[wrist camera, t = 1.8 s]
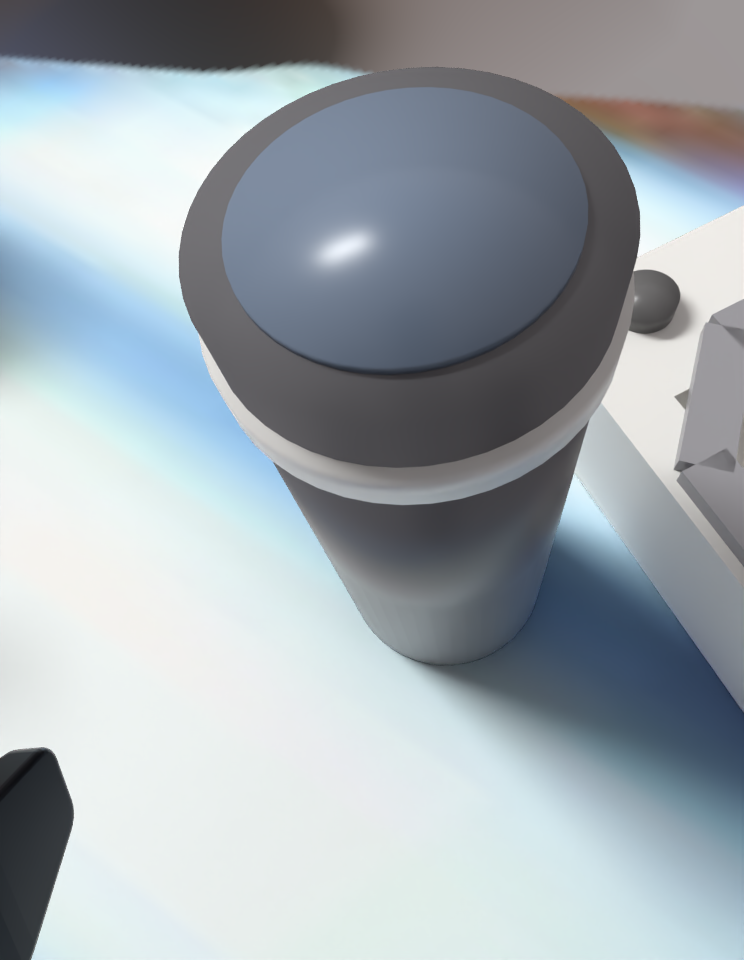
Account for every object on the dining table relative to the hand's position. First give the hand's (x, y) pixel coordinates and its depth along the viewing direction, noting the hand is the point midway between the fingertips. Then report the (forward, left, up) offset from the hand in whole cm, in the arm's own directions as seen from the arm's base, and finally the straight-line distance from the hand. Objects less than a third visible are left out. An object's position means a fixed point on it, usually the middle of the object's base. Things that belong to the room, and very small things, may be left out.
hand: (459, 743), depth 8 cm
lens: (+5, -2, -12) cm, 14 cm away
